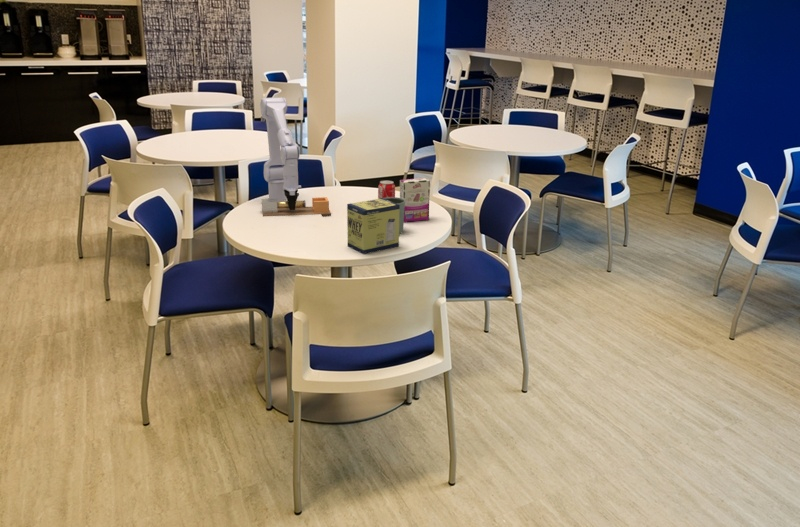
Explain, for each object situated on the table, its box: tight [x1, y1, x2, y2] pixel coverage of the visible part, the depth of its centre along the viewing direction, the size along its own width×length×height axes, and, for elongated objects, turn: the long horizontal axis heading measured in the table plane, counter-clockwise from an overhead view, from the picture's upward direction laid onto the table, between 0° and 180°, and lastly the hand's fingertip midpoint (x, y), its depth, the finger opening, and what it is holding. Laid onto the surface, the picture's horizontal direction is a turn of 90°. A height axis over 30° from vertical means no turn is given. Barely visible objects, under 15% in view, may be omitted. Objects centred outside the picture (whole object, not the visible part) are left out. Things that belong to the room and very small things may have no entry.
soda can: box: [377, 180, 396, 199], centre depth 283 cm, size 7×7×12 cm
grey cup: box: [383, 196, 405, 234], centre depth 255 cm, size 10×10×12 cm
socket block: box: [311, 196, 330, 213], centre depth 278 cm, size 7×6×4 cm
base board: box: [262, 206, 332, 217], centre depth 277 cm, size 12×27×1 cm, turn 103°
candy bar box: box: [399, 177, 431, 223], centre depth 269 cm, size 11×5×16 cm, turn 112°
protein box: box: [346, 198, 400, 255], centre depth 237 cm, size 10×16×16 cm
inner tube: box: [277, 199, 307, 208], centre depth 275 cm, size 4×16×4 cm, turn 102°
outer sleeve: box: [261, 198, 278, 215], centre depth 274 cm, size 5×6×5 cm
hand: (291, 208), depth 276 cm, fingers closed on inner tube, 4 cm apart
